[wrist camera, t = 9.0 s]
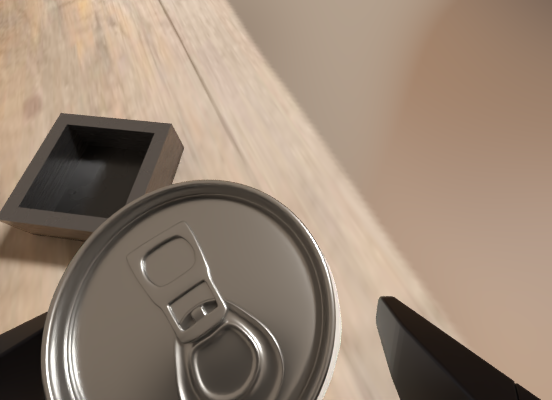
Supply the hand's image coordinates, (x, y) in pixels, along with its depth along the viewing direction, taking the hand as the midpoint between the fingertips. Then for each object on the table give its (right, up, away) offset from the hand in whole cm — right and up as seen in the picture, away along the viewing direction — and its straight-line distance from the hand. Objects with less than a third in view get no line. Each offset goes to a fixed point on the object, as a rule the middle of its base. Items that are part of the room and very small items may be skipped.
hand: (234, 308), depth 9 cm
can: (0, -4, +8) cm, 9 cm away
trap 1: (-12, +4, +13) cm, 18 cm away
